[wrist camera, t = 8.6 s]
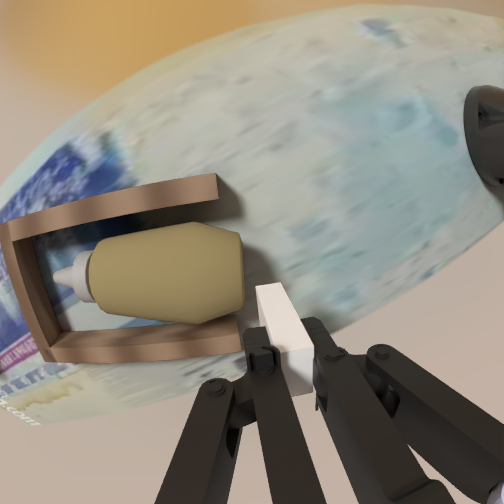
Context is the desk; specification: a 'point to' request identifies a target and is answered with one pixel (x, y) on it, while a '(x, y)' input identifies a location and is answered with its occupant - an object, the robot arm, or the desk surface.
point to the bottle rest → (111, 340)
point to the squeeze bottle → (162, 274)
